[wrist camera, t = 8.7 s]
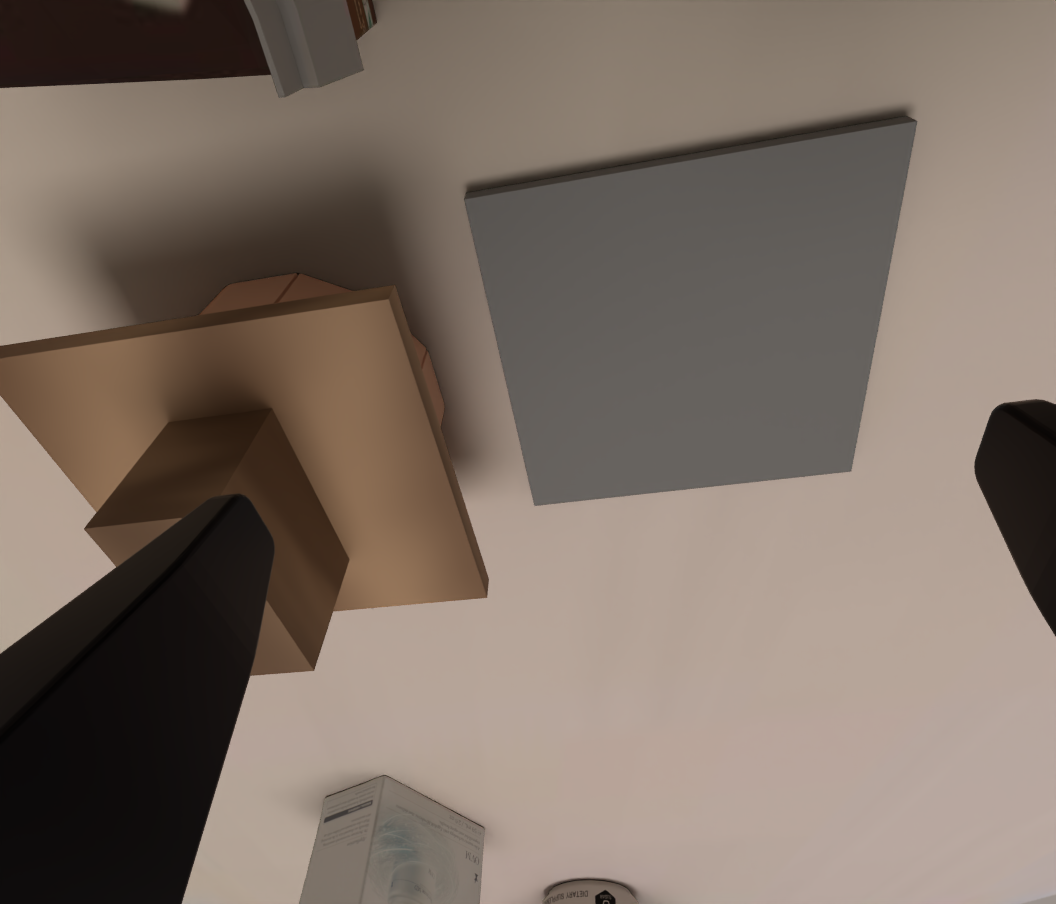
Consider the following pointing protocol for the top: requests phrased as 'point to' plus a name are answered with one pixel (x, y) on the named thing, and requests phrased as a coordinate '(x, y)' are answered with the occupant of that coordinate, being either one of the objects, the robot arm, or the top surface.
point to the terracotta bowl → (306, 288)
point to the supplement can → (589, 893)
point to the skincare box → (393, 850)
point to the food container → (181, 41)
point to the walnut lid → (264, 450)
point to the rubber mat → (694, 310)
